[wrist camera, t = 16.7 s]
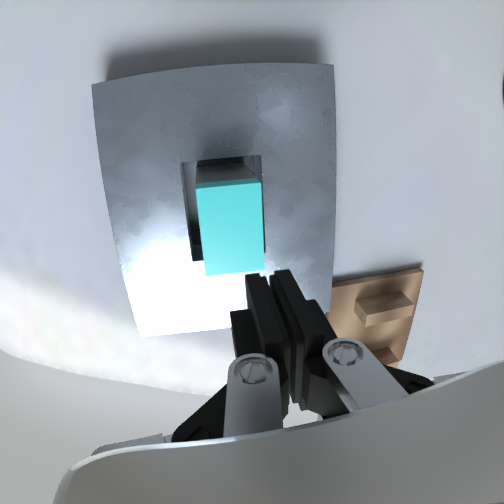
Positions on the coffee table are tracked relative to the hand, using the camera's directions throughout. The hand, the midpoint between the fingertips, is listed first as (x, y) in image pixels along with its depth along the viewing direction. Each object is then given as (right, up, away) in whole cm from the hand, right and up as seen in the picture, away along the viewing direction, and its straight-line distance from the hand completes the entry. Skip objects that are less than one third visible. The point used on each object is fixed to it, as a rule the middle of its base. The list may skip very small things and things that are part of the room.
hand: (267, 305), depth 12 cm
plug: (-3, +7, +16) cm, 17 cm away
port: (-3, +7, +16) cm, 17 cm away
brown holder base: (+14, -7, +25) cm, 29 cm away
